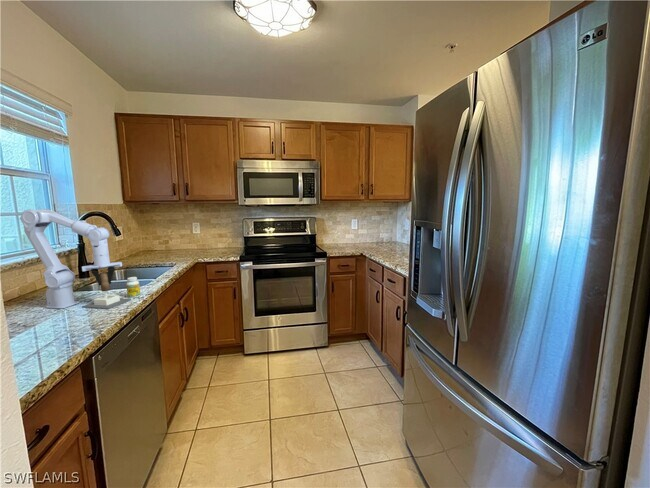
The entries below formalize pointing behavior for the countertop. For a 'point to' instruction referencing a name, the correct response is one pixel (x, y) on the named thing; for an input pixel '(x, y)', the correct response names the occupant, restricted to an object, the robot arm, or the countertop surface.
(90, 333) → the countertop surface
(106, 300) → the peg socket
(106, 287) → the walnut peg
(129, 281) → the supplement bottle
